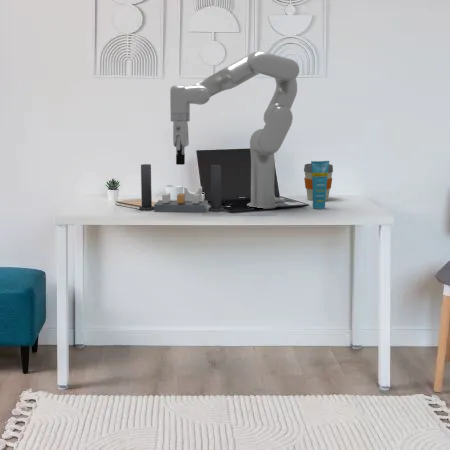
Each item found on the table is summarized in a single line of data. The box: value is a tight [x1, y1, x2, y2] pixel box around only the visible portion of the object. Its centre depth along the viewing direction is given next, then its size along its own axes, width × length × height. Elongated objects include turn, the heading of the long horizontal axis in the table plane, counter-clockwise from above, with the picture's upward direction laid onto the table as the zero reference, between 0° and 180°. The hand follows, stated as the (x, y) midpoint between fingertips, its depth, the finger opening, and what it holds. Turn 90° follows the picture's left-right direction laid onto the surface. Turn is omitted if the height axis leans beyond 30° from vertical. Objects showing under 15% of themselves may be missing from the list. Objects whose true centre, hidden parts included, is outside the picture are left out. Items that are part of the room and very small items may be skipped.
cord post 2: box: [208, 164, 225, 213], centre depth 305 cm, size 6×6×18 cm
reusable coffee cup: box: [303, 163, 334, 202], centre depth 333 cm, size 13×13×15 cm
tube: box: [310, 160, 330, 210], centre depth 310 cm, size 7×5×19 cm, turn 104°
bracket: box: [183, 186, 205, 201], centre depth 326 cm, size 13×7×8 cm, turn 176°
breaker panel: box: [153, 199, 209, 213], centre depth 308 cm, size 20×10×3 cm, turn 85°
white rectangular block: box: [161, 192, 171, 203], centre depth 308 cm, size 2×5×3 cm, turn 174°
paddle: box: [192, 194, 200, 204], centre depth 307 cm, size 2×5×3 cm, turn 175°
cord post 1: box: [138, 163, 154, 212], centre depth 308 cm, size 6×6×18 cm
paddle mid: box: [176, 192, 185, 203], centre depth 307 cm, size 2×5×3 cm, turn 175°
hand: (180, 164), depth 305 cm, fingers closed
